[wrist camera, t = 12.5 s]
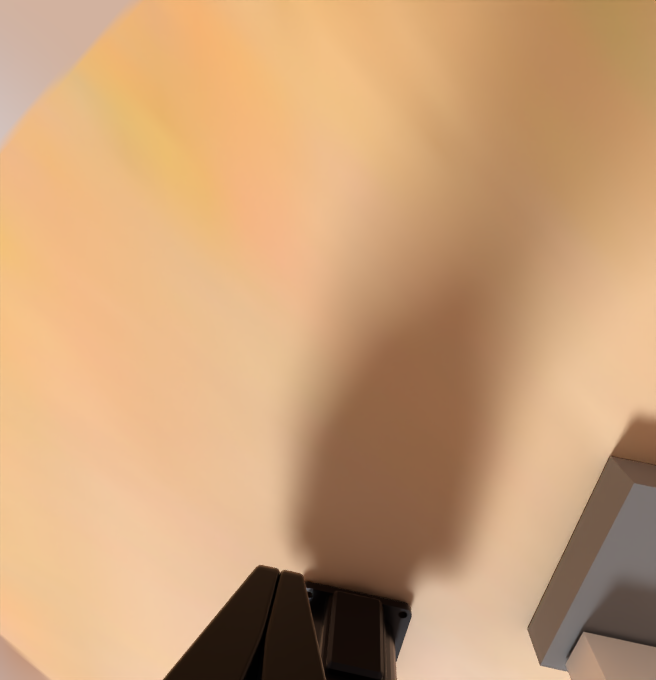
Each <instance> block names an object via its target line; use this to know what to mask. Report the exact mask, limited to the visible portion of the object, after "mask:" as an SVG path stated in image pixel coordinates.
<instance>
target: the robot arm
mask: <svg viewBox="0 0 656 680" xmlns="http://www.w3.org/2000/svg"><path fill="white" fill-rule="evenodd" d="M308 591H310V592H308ZM411 615H412V614H411V607H410V605H408V604H407V603H404V602H400V601H395V600H391V599H386V598H382V597H377V596H372V595H368V594H363V593H358V592H354V591H349V590H345V589H340V588H335V587H331V586H326V585H321V584H317V583H312V582H305V581H304V577H303V575H302V574H300V573H296V572H292V571H287V570H283V571H281V572H280V571H279V570H278V569H277V568H273V567H269V566H264V565H259V566H257V567H256V568H255V569H254V570H253V572H252V573H251V574H250V575H249V576H248V578H247V579H246V580H245V581H244V582H243V584H242V585H241V586H240V587H239V588H238V590H237V591H236V592H235V593H234V594H233V596H232V597H231V598H230V599H229V601H228V602H227V603H226V604H225V605H224V607H223V608H222V609H221V610H220V611H219V613H218V614H217V615H216V616H215V617H214V619H213V620H212V621H211V622H210V623H209V625H208V626H207V627H206V628H205V629H204V631H203V632H202V633H201V634H200V635H199V637H198V638H197V639H196V640H195V642H194V643H193V644H192V645H191V646H190V648H189V649H188V650H187V651H186V652H185V654H184V655H183V656H182V657H181V658H180V660H179V661H178V662H177V663H176V664H175V666H174V667H173V668H172V669H171V670H170V672H169V673H168V674H167V675H166V676H165V678H164V679H163V680H397V676H396V661H397V658H398V655H399V652H400V649H401V646H402V643H403V640H404V637H405V634H406V631H407V628H408V625H409V622H410V619H411Z"/></svg>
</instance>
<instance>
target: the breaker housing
mask: <svg viewBox="0 0 656 680" xmlns="http://www.w3.org/2000/svg"><path fill="white" fill-rule="evenodd" d="M527 630H528V632H529V635H530V638H531V641H532V644H533V647H534V650H535V652H536V655H537V658H538V661H539V664H540V666H544V667H549V668H554V669H558V670H563V671H567V672H568V670H567V668H566V665H565V664H566V662H567V661H568V659H569V657H570V655H571V653H572V651H573V650H574V648H575V646H576V644H577V642H578V640H579V639H580V637H581V635H582V633H583V632H587V633H592V634H596V635H601V636H606V637H610V638H615V639H620V640H624V641H629V642H633V643H638V644H643V645H647V646H652V647H656V465H651V464H646V463H641V462H636V461H632V460H627V459H622V458H617V457H612V456H610V458H609V460H608V462H607V464H606V466H605V468H604V470H603V472H602V474H601V477H600V479H599V481H598V483H597V485H596V487H595V489H594V491H593V493H592V495H591V497H590V500H589V502H588V504H587V506H586V508H585V510H584V512H583V514H582V516H581V518H580V520H579V523H578V525H577V527H576V529H575V531H574V533H573V535H572V537H571V539H570V541H569V543H568V545H567V548H566V550H565V552H564V554H563V556H562V558H561V560H560V562H559V564H558V566H557V568H556V571H555V573H554V575H553V577H552V579H551V581H550V583H549V585H548V587H547V589H546V591H545V594H544V596H543V598H542V600H541V602H540V604H539V606H538V608H537V610H536V612H535V614H534V617H533V619H532V621H531V623H530V625H529V627H528V629H527Z"/></svg>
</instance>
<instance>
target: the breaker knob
mask: <svg viewBox="0 0 656 680" xmlns="http://www.w3.org/2000/svg"><path fill="white" fill-rule="evenodd" d="M565 665H566V668H567V670H568V673H569V675H570V678H571V680H656V647H652V646H647V645H643V644H638V643H633V642H629V641H624V640H620V639H615V638H610V637H606V636H601V635H596V634H592V633H587V632H583V633H582V635H581V637H580V639H579V640H578V642H577V644H576V646H575V648H574V650H573V651H572V653H571V655H570V657H569V659H568V661H567V662H566V664H565Z"/></svg>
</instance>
